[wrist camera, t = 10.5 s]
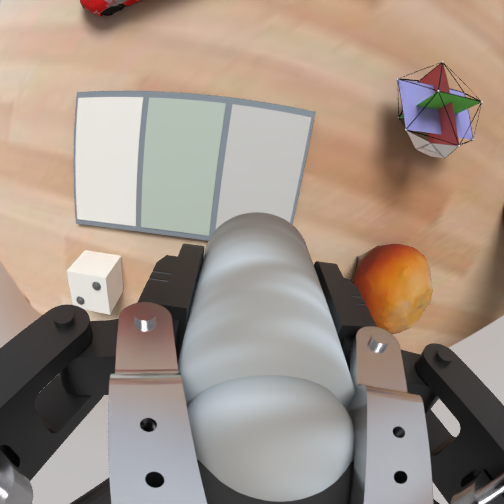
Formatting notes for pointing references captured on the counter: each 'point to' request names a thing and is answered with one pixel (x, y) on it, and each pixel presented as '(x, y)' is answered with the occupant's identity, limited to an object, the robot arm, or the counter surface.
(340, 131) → the counter surface
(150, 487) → the robot arm
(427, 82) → the geometric puzzle
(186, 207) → the game board
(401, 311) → the fruit
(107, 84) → the counter surface
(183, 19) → the counter surface
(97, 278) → the die
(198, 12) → the counter surface
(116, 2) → the race car
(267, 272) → the ridged rounded cylinder
